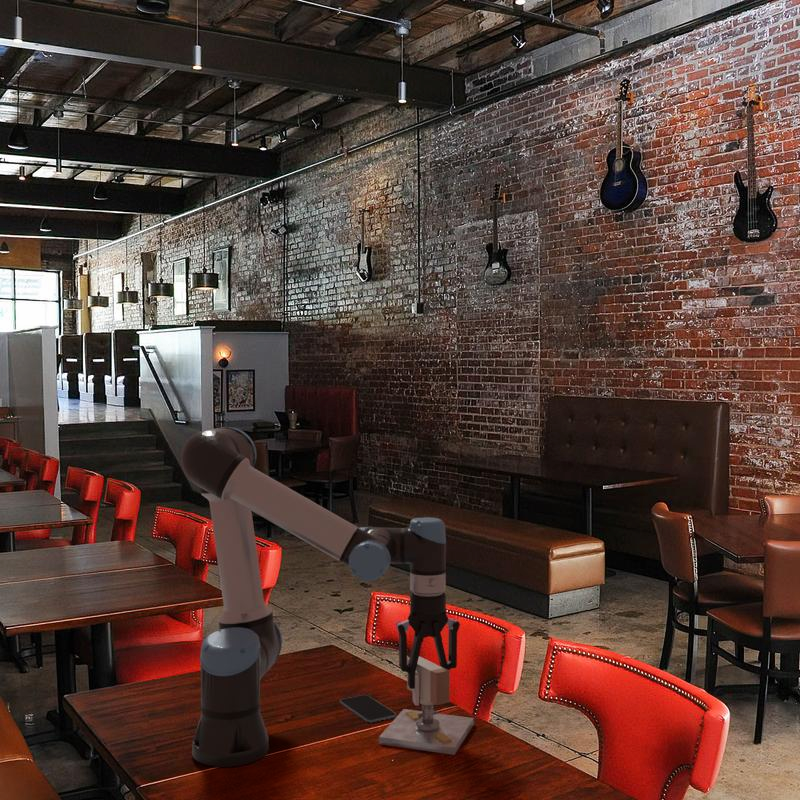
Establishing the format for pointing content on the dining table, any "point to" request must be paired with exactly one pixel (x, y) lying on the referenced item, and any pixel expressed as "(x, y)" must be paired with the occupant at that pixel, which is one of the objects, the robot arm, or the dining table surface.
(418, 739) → the socket
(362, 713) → the smartphone
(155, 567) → the dining table surface
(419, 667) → the grey rectangular block
